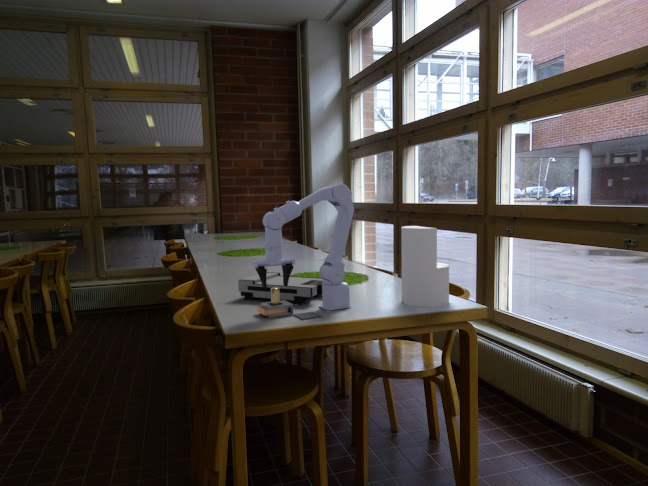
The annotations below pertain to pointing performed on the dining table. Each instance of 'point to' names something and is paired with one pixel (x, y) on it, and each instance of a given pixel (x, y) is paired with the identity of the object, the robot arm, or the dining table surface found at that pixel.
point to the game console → (281, 288)
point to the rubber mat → (307, 315)
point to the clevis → (276, 309)
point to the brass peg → (275, 296)
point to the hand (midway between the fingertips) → (275, 286)
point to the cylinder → (423, 268)
